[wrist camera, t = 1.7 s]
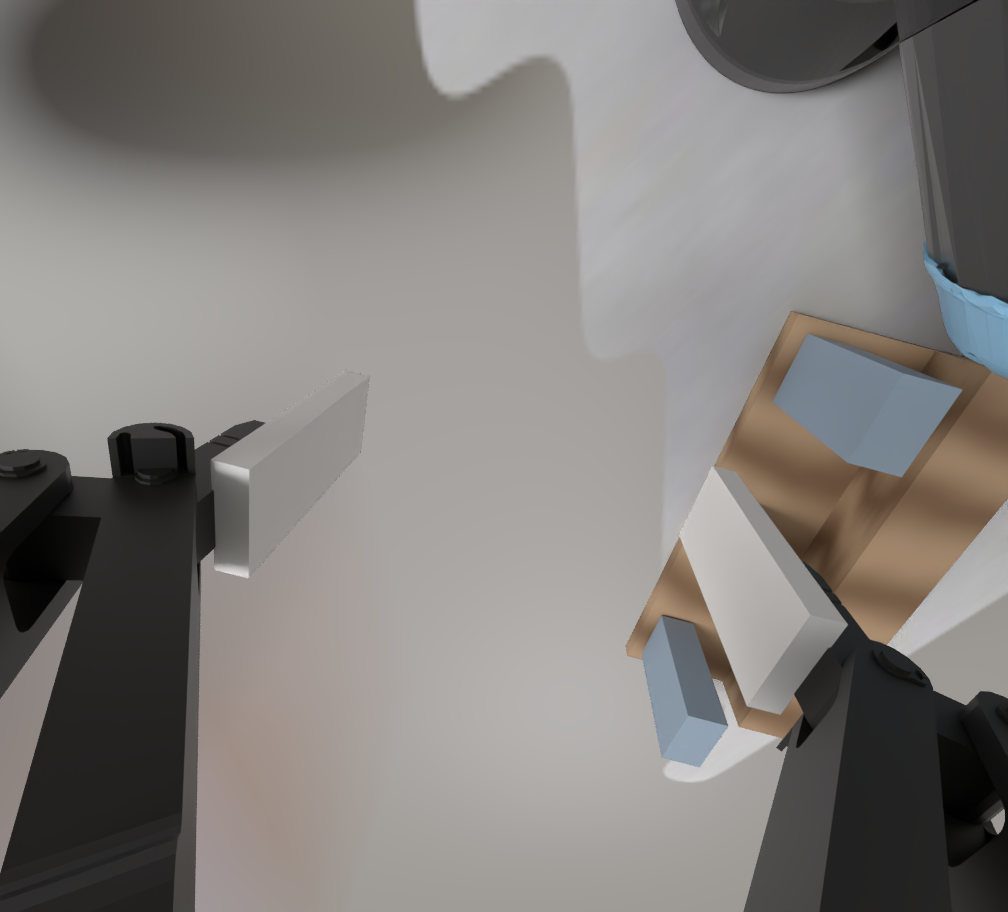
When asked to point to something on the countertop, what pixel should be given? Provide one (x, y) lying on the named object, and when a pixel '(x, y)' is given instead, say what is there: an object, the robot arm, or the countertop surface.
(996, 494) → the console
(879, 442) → the key
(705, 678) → the key
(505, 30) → the countertop surface
